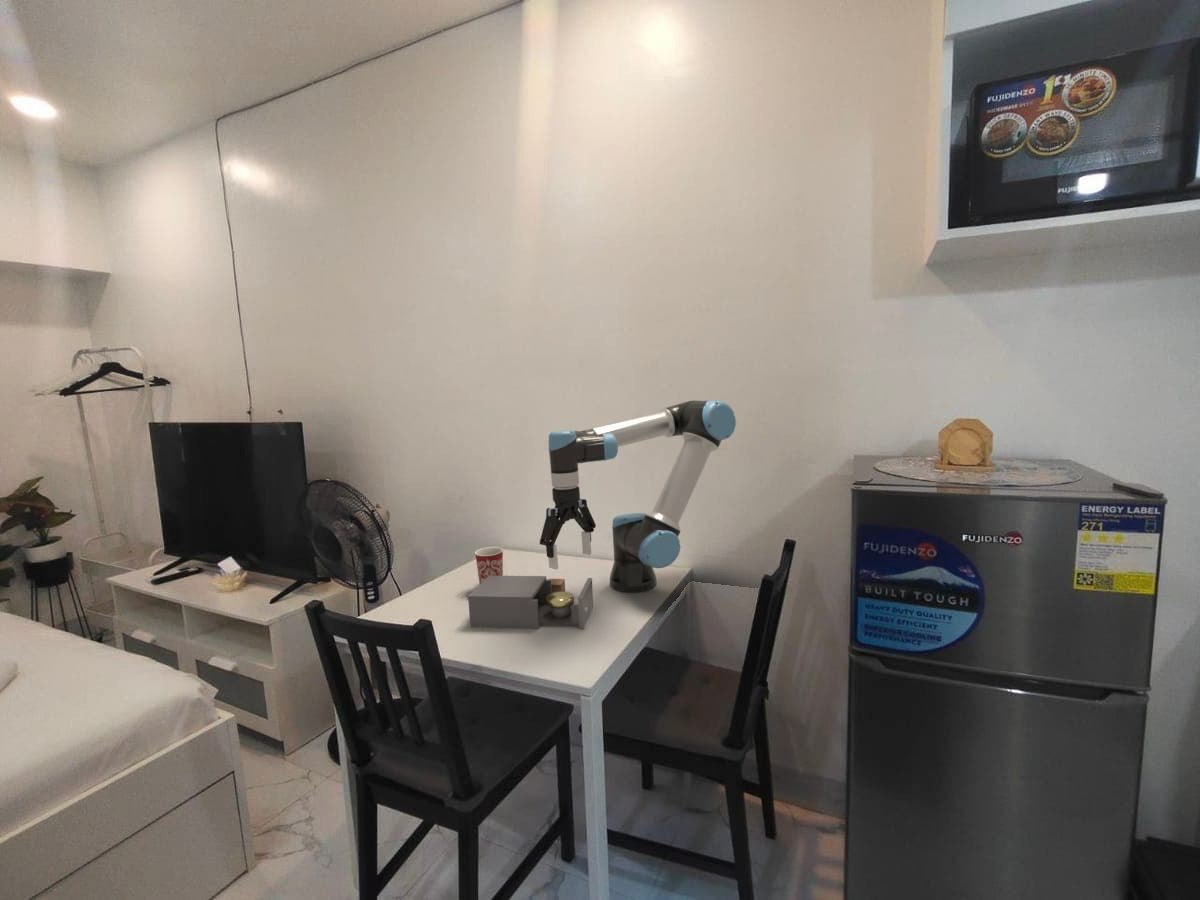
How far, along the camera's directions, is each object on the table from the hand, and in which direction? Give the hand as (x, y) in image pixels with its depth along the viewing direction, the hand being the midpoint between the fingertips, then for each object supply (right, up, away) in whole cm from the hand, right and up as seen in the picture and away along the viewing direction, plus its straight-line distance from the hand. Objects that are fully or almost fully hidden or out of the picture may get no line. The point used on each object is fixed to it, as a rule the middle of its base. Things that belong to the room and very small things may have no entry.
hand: (570, 561), depth 150 cm
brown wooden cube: (-6, -15, +17) cm, 23 cm away
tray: (-4, -16, +2) cm, 17 cm away
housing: (-18, -17, +5) cm, 25 cm away
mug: (-27, -15, +26) cm, 41 cm away
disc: (-3, -12, +2) cm, 13 cm away
